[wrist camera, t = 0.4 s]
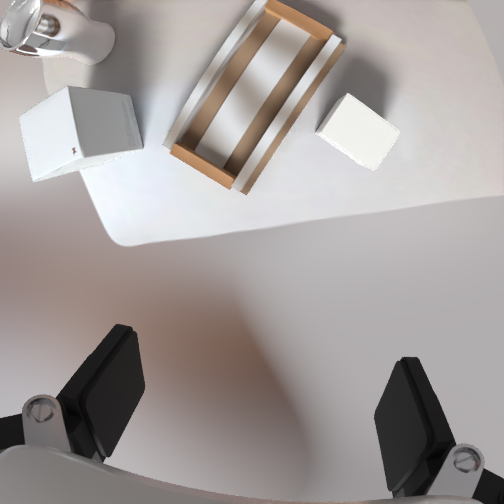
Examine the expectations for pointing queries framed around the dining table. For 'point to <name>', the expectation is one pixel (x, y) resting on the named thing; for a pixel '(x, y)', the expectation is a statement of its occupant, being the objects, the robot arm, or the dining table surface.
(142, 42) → the dining table surface
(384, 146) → the block
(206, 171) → the rail board
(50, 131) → the supplement box
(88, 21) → the beer glass
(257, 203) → the dining table surface
